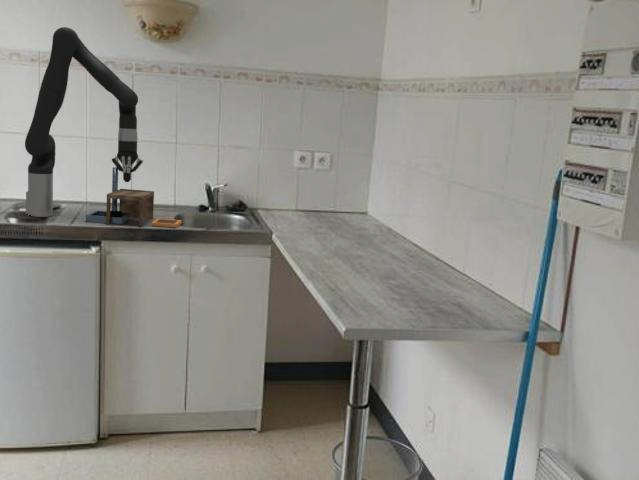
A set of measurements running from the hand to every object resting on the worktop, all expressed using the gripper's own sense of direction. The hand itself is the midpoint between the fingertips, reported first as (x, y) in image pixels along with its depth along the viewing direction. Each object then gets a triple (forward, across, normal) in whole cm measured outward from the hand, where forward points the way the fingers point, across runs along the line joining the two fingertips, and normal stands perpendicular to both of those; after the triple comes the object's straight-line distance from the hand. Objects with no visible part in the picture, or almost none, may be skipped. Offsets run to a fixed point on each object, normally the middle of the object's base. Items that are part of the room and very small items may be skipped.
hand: (127, 181), depth 277 cm
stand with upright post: (+15, -5, -8) cm, 18 cm away
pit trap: (+16, +18, -8) cm, 26 cm away
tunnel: (+16, +3, -8) cm, 18 cm away
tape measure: (+15, 0, -8) cm, 17 cm away
